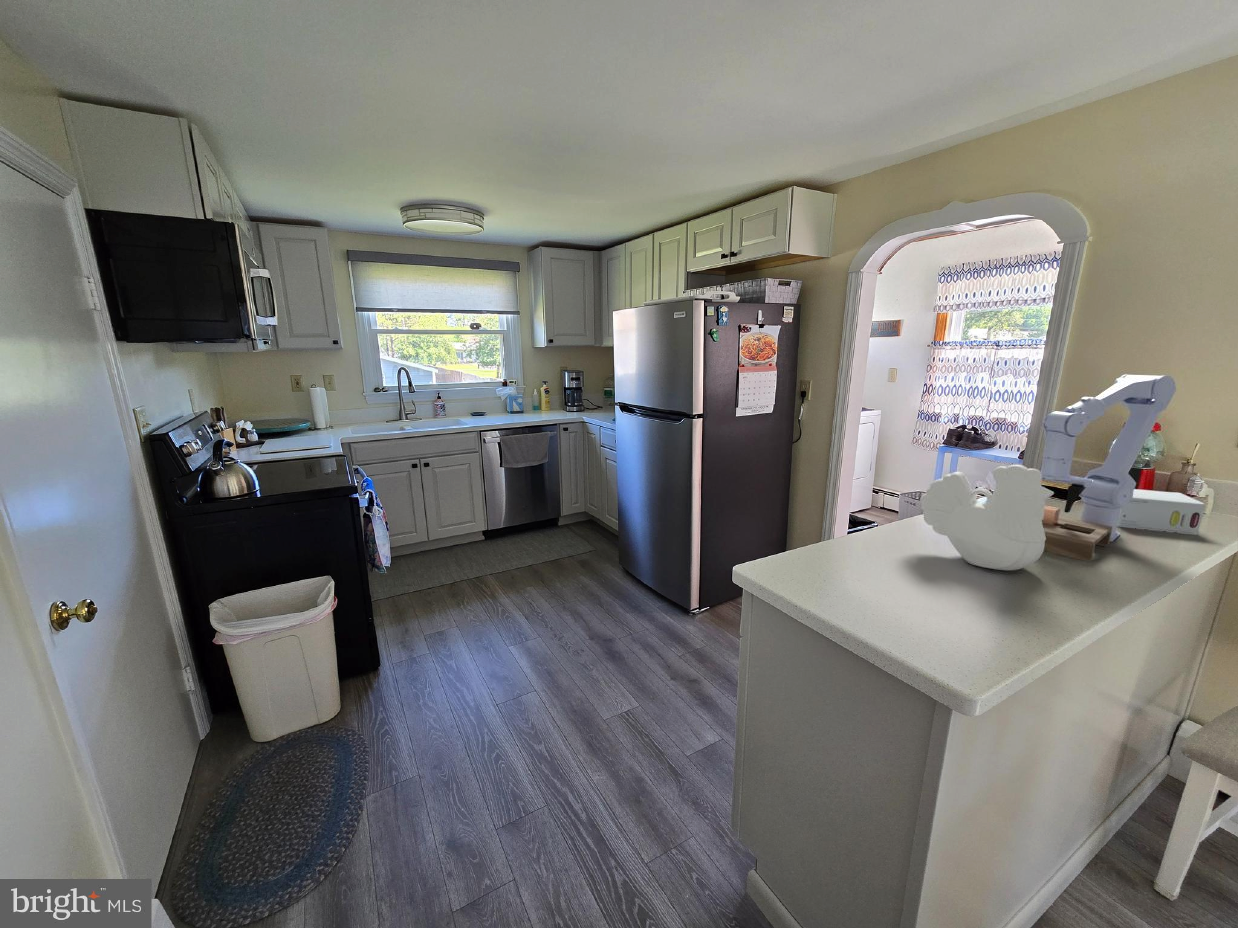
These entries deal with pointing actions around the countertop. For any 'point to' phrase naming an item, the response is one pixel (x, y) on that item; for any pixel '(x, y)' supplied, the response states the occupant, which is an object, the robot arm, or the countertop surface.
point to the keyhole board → (1075, 538)
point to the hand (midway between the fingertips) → (1048, 508)
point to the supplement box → (1162, 512)
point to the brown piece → (1051, 515)
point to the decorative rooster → (991, 517)
